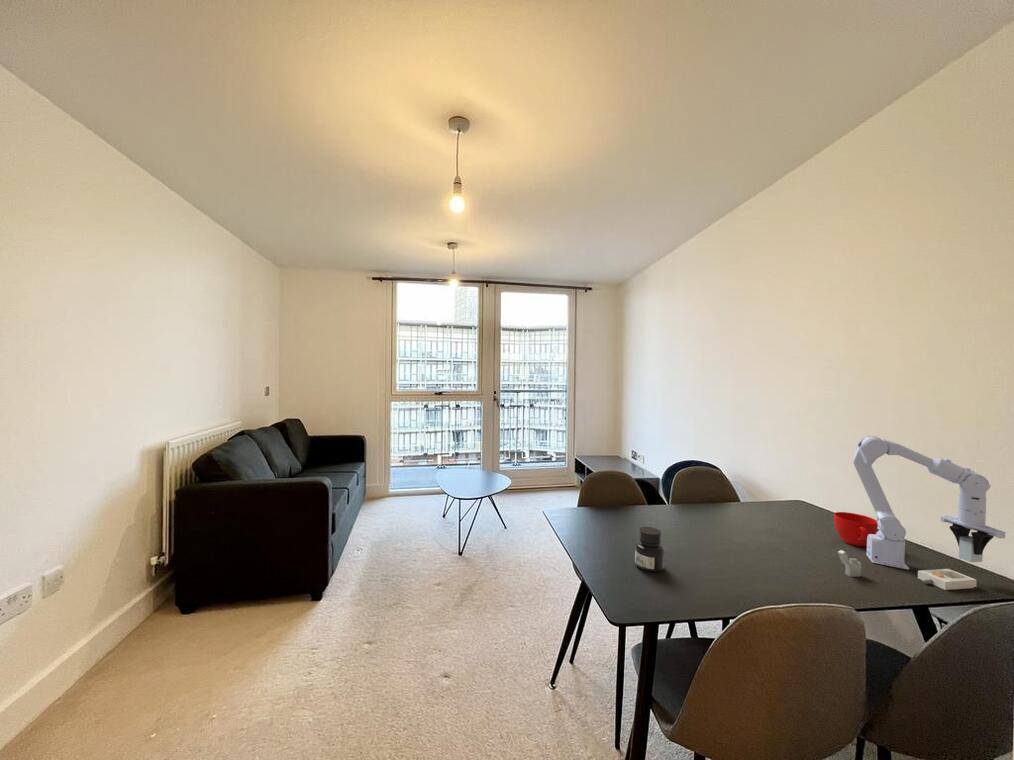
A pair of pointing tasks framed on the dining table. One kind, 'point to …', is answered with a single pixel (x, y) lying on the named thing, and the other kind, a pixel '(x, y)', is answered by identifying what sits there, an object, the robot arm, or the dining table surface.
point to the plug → (968, 550)
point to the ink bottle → (649, 550)
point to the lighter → (850, 564)
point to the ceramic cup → (854, 527)
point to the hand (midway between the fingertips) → (970, 551)
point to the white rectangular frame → (946, 579)
